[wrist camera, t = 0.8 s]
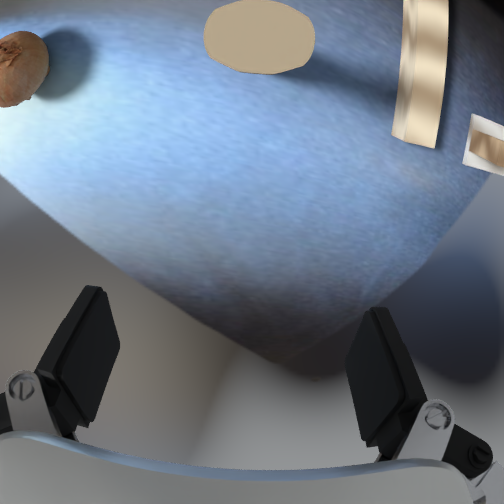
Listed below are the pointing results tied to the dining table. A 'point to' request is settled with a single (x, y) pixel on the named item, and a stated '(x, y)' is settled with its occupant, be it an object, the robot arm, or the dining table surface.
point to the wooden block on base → (485, 145)
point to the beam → (421, 71)
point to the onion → (21, 67)
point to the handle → (259, 37)
